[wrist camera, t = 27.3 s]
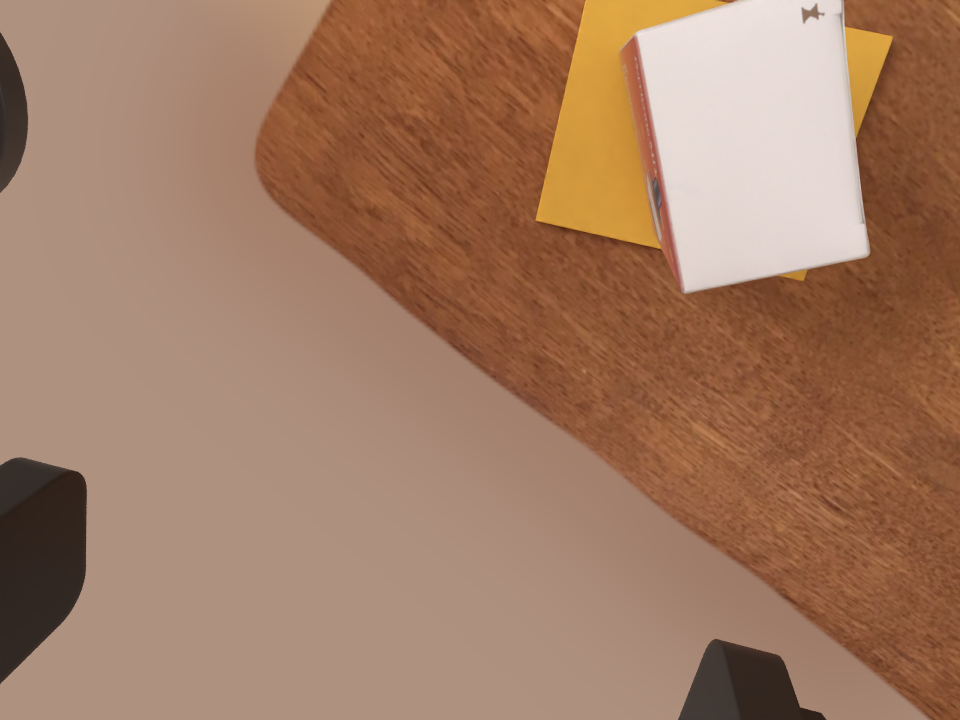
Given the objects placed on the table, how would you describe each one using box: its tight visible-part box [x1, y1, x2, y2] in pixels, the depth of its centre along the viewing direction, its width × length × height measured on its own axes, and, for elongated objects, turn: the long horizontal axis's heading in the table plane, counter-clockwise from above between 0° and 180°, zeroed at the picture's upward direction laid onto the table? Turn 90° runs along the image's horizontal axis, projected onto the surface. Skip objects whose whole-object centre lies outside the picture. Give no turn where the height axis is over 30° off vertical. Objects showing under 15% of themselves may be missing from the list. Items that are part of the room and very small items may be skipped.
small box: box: [619, 0, 870, 294], centre depth 26 cm, size 8×6×10 cm
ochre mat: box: [536, 0, 893, 281], centre depth 31 cm, size 12×10×1 cm
